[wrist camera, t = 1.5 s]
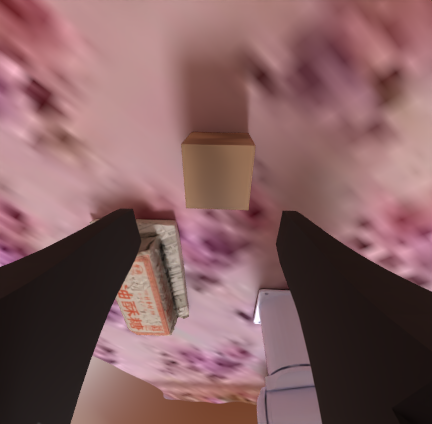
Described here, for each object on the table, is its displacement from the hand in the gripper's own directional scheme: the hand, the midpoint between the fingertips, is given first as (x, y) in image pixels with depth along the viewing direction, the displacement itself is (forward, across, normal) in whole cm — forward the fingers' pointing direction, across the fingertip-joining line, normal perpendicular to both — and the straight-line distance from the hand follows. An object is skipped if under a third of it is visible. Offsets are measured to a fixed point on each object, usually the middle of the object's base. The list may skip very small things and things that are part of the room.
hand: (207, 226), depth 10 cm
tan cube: (+11, 0, 0) cm, 11 cm away
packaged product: (+11, +9, +16) cm, 21 cm away
